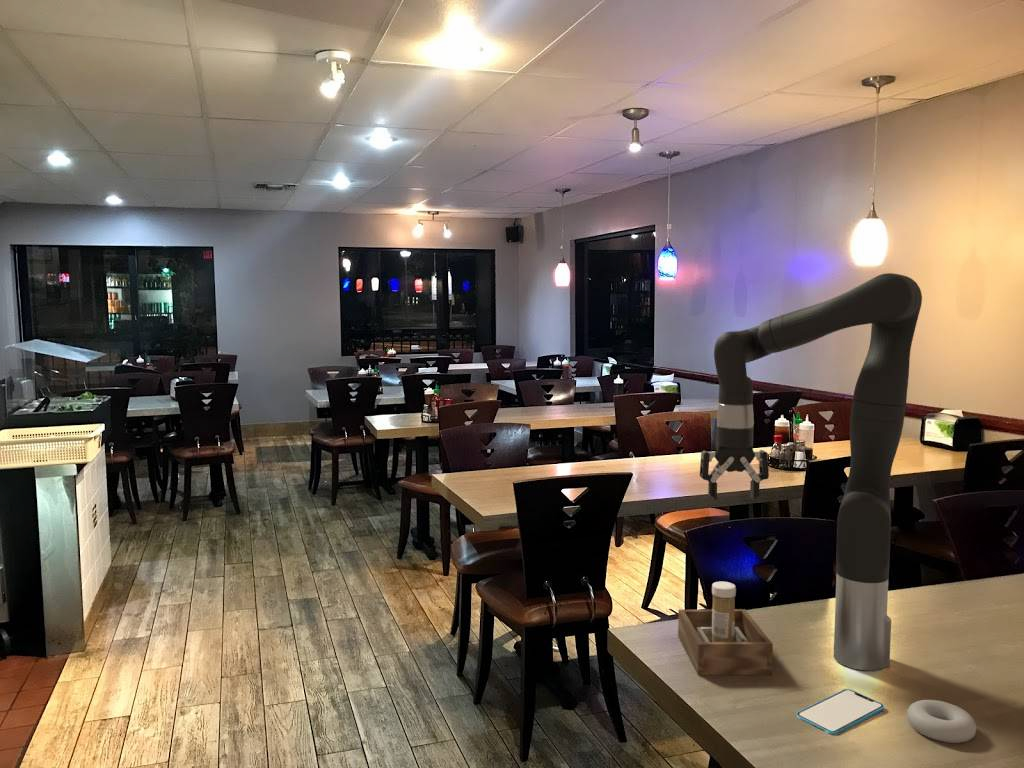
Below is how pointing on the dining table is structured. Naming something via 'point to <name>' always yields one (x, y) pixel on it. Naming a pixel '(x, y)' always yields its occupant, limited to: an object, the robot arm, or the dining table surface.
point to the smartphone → (840, 711)
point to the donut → (941, 721)
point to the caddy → (725, 645)
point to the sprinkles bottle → (723, 612)
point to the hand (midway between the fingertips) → (733, 498)
